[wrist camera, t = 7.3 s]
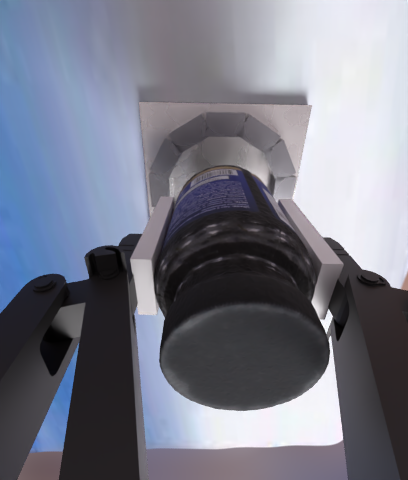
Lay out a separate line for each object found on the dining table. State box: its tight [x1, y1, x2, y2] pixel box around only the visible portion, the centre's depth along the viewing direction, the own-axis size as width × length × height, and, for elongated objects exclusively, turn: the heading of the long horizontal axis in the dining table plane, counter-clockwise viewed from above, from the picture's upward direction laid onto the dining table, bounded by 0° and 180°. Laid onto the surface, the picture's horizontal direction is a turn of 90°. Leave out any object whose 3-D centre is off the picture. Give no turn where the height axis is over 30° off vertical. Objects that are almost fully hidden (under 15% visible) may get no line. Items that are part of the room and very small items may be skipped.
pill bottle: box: [154, 165, 330, 411], centre depth 12 cm, size 6×6×11 cm
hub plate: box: [139, 102, 312, 217], centre depth 20 cm, size 12×12×2 cm
